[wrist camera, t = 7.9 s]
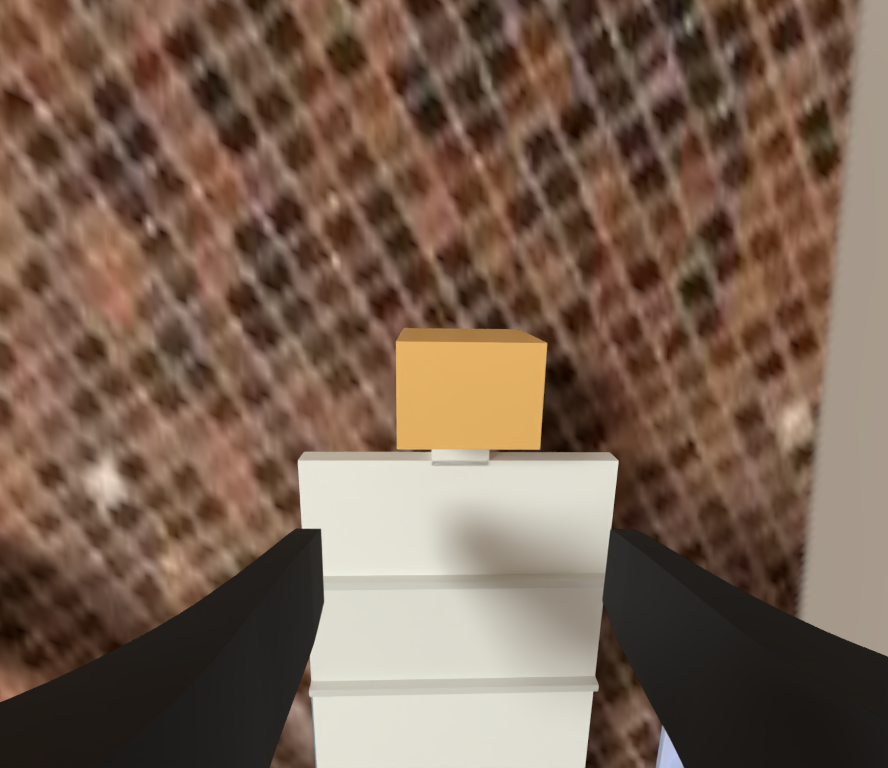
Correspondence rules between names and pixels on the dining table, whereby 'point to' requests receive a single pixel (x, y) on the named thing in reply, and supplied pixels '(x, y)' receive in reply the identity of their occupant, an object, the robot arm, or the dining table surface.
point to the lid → (459, 570)
